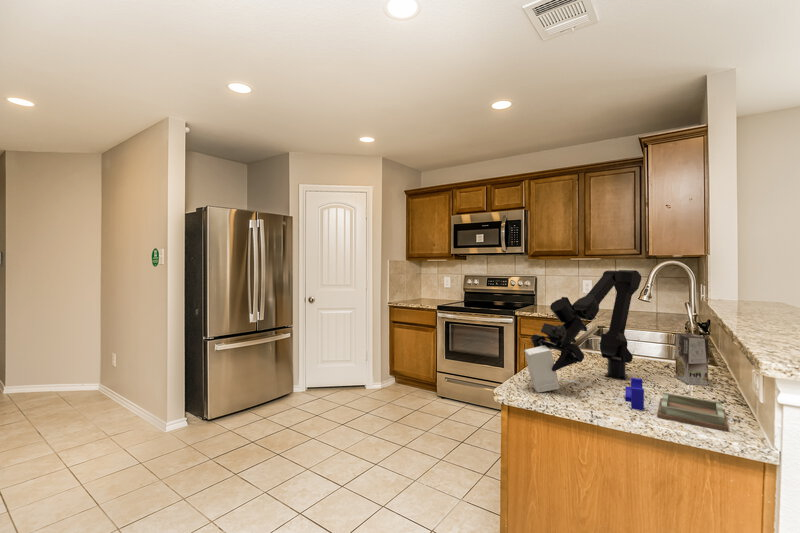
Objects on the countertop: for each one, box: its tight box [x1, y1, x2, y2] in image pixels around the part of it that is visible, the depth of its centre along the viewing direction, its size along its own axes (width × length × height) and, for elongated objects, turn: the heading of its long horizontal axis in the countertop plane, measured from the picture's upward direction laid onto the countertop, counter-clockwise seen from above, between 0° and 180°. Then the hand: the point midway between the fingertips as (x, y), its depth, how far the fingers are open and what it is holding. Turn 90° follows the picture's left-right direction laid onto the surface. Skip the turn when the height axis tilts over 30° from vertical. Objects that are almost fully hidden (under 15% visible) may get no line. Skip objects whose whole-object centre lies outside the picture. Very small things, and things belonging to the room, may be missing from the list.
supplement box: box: [523, 346, 560, 393], centre depth 131 cm, size 7×7×13 cm
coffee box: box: [675, 333, 710, 386], centre depth 141 cm, size 9×6×16 cm
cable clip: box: [624, 377, 645, 411], centre depth 120 cm, size 12×4×6 cm, turn 151°
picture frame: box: [656, 392, 730, 432], centre depth 110 cm, size 15×15×3 cm
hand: (541, 366), depth 130 cm, fingers closed on supplement box, 9 cm apart
